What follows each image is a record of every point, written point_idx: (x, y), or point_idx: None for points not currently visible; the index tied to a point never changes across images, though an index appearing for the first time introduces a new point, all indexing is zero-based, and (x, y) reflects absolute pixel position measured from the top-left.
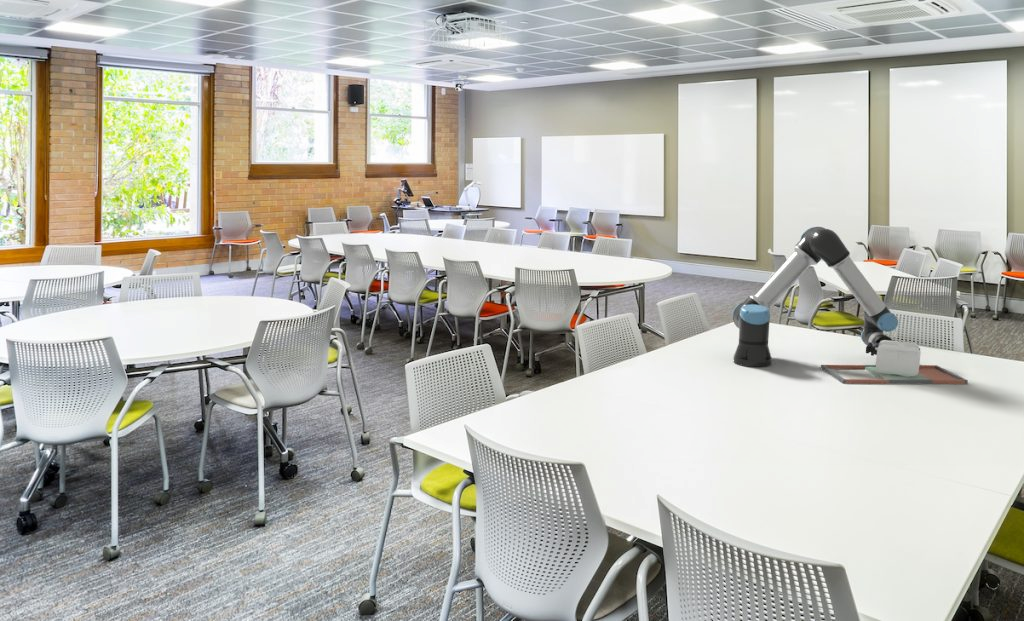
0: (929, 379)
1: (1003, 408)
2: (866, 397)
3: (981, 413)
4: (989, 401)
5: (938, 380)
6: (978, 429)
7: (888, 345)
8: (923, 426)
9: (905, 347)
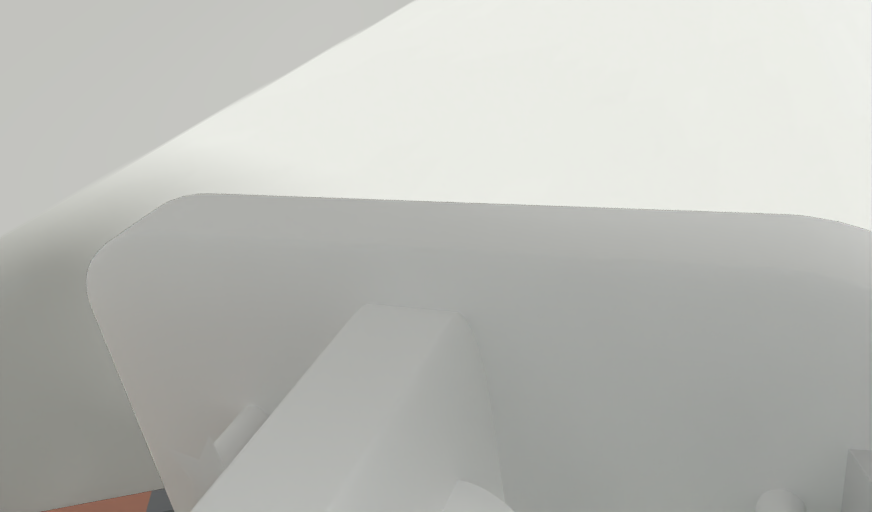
0: (167, 508)
1: (122, 191)
2: (836, 145)
3: (288, 133)
4: (89, 248)
5: (78, 509)
6: (409, 53)
7: (678, 224)
8: (588, 29)
9: (338, 198)
